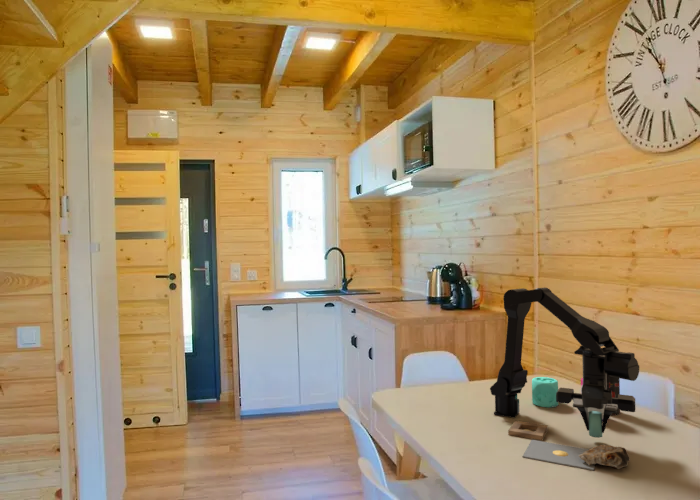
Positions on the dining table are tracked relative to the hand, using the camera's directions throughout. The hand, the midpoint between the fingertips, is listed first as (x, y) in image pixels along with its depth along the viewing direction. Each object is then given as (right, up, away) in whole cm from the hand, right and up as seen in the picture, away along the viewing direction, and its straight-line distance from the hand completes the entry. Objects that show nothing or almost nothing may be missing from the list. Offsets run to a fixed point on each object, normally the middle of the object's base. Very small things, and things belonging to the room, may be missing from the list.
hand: (595, 431), depth 132 cm
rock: (-5, -3, -14) cm, 15 cm away
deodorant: (+16, -3, +23) cm, 28 cm away
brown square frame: (-15, -3, +8) cm, 17 cm away
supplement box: (+8, -3, +18) cm, 20 cm away
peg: (0, -1, 0) cm, 1 cm away
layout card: (-13, -3, -8) cm, 15 cm away
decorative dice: (0, -3, +33) cm, 33 cm away
